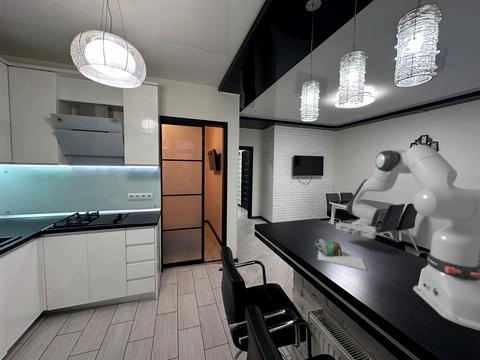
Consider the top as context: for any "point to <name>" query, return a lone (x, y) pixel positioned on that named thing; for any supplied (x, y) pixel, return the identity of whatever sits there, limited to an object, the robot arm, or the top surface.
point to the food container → (328, 247)
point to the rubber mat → (343, 260)
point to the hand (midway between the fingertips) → (350, 232)
